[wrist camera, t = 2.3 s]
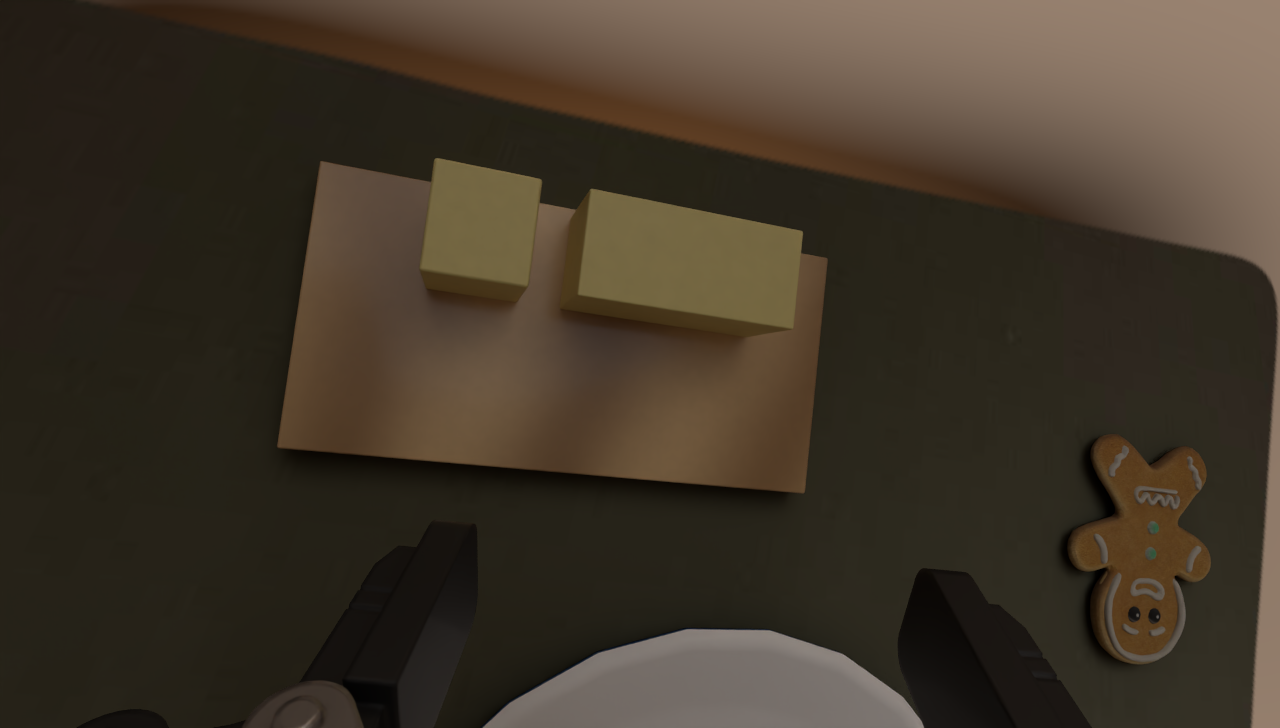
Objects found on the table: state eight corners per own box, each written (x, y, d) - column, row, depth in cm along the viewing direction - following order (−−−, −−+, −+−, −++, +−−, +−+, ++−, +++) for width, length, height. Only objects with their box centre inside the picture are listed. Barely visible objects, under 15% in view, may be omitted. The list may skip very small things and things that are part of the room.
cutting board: (286, 444, 21) (276, 448, 20) (327, 172, 22) (319, 160, 21) (789, 489, 26) (805, 494, 25) (812, 263, 27) (828, 258, 25)
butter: (559, 309, 23) (577, 295, 19) (570, 217, 23) (590, 187, 19) (747, 337, 24) (793, 329, 21) (756, 252, 25) (803, 230, 21)
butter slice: (424, 288, 21) (418, 270, 18) (437, 192, 22) (434, 156, 18) (517, 303, 22) (528, 287, 19) (529, 209, 22) (542, 178, 19)
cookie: (1230, 452, 31) (1215, 672, 30) (1208, 450, 32) (1192, 664, 31) (1092, 428, 29) (1072, 664, 28) (1073, 427, 30) (1052, 656, 29)
